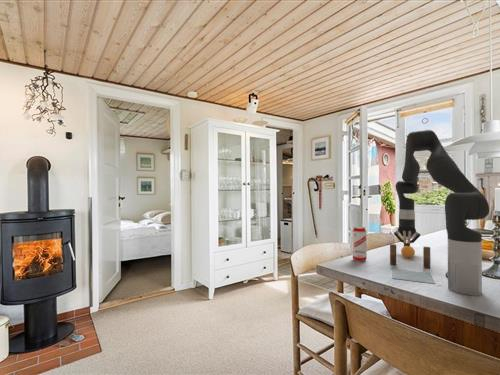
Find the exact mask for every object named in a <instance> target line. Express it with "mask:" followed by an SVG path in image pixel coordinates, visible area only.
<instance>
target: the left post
mask: <svg viewBox="0 0 500 375" xmlns="http://www.w3.org/2000/svg"><path fill="white" fill-rule="evenodd" d="M389 265H393V266H397V244H395V243H390V244H389Z"/></svg>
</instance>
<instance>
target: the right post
mask: <svg viewBox="0 0 500 375" xmlns="http://www.w3.org/2000/svg"><path fill="white" fill-rule="evenodd" d="M422 249H423V250H422V251H423V253H422V254H423V255H422V257H423V260H422V261H423V264H422V265H423V268H424V269H427V270H428V269H429V270H430V269H431V247H430V246H423V248H422Z"/></svg>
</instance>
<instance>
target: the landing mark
mask: <svg viewBox="0 0 500 375" xmlns="http://www.w3.org/2000/svg"><path fill="white" fill-rule="evenodd" d="M391 279H393V280H399V281H400V280H402V281H410V282H415V283H422V284H423V283H424V284H430V285H431V284H432V285H436V283H435V280H434V277H433V275H432V273H431V272H426V271H424V272H423V271H418V270H417V271H416V270H408V269H407V270H406V269H397V268H391Z"/></svg>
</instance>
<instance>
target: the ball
mask: <svg viewBox="0 0 500 375" xmlns="http://www.w3.org/2000/svg"><path fill="white" fill-rule="evenodd" d="M400 252H401V255H402V257H404V258H406V259H412V258H414V256H415V253H416V250H415V249H414V247H412V246H411V245H410V246H404V245H403V246H402V248H401V250H400Z"/></svg>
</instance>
